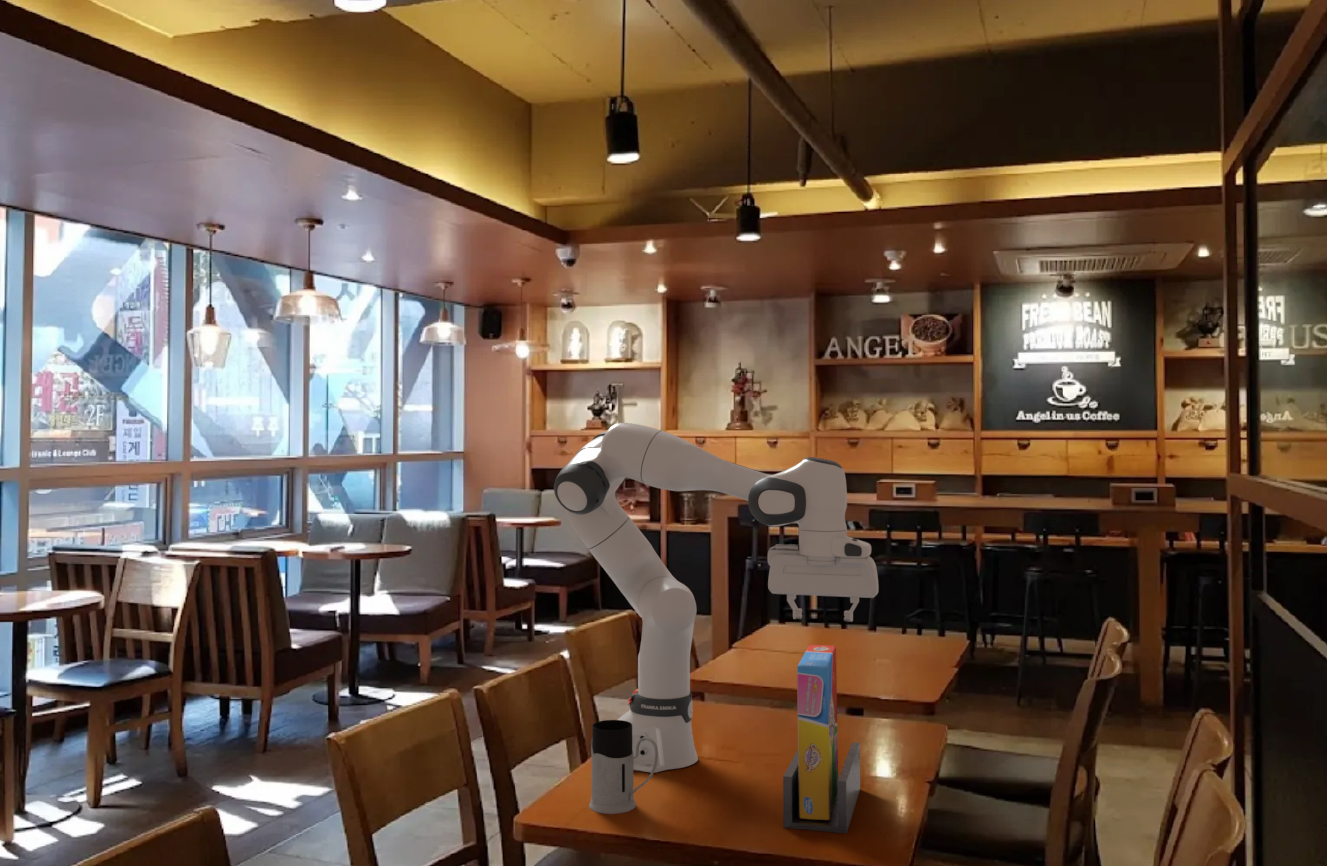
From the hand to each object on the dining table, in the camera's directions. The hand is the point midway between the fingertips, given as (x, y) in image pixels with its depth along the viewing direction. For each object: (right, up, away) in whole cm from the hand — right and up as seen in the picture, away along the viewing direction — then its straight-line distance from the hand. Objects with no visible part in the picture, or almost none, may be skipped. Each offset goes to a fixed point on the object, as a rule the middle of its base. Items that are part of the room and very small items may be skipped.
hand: (822, 619), depth 195 cm
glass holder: (-37, -35, 0) cm, 51 cm away
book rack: (0, -35, 0) cm, 35 cm away
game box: (-1, -34, 0) cm, 34 cm away
